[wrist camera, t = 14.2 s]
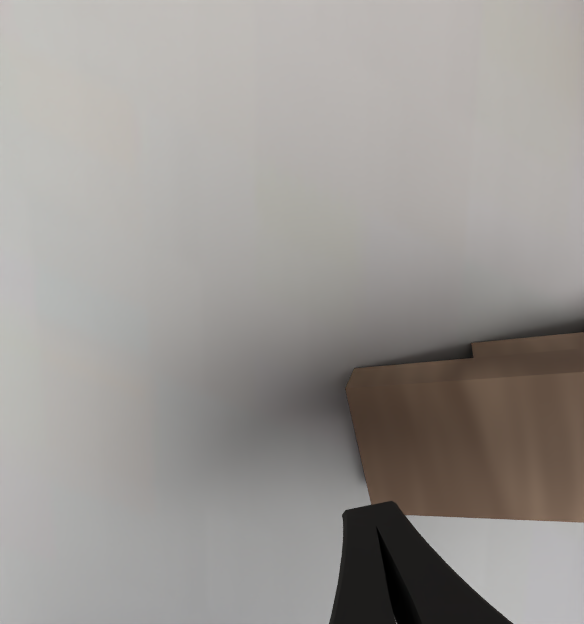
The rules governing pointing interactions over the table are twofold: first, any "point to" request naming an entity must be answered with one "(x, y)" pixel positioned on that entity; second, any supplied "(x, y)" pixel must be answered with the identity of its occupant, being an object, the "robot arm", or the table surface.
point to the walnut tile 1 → (475, 435)
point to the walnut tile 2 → (528, 345)
